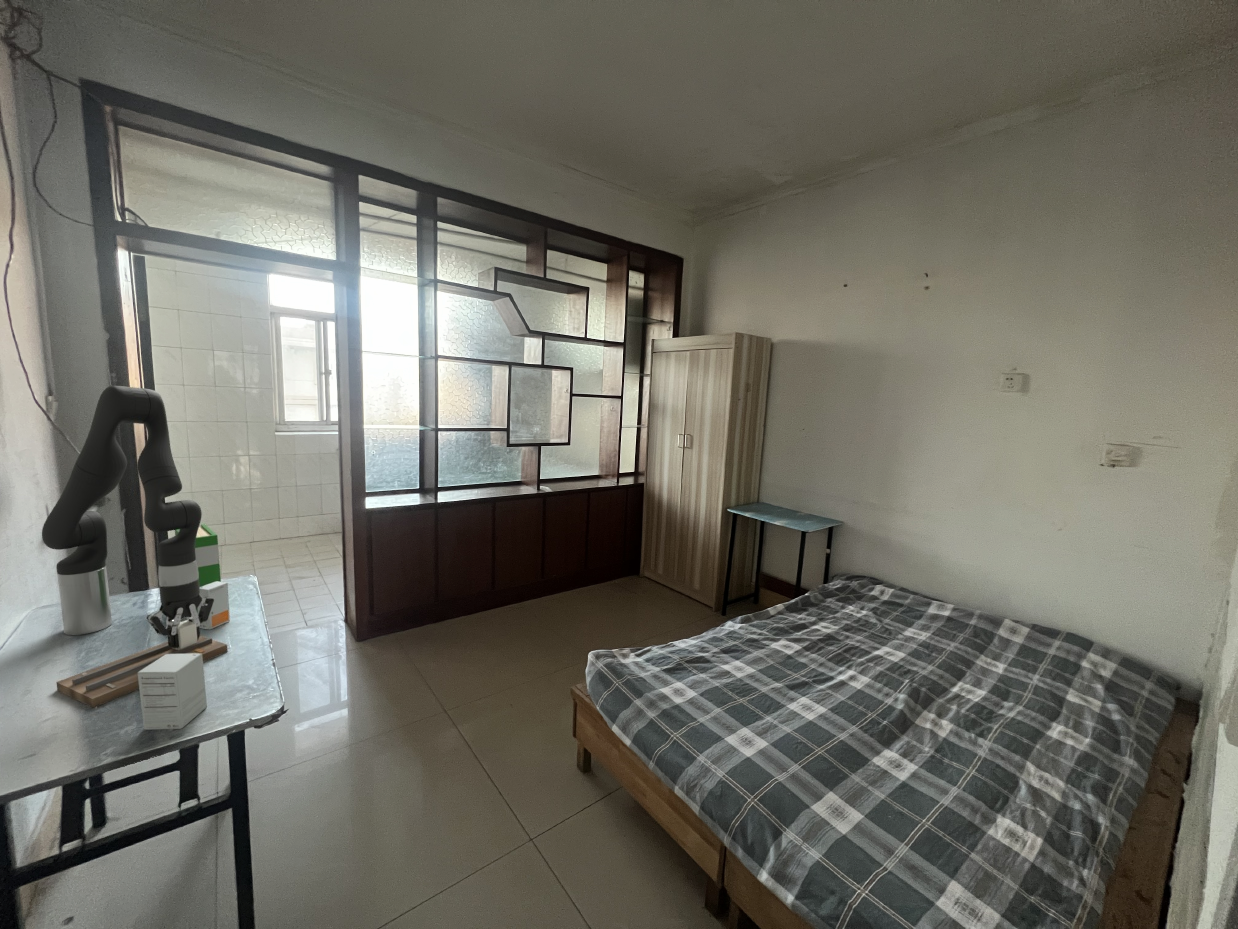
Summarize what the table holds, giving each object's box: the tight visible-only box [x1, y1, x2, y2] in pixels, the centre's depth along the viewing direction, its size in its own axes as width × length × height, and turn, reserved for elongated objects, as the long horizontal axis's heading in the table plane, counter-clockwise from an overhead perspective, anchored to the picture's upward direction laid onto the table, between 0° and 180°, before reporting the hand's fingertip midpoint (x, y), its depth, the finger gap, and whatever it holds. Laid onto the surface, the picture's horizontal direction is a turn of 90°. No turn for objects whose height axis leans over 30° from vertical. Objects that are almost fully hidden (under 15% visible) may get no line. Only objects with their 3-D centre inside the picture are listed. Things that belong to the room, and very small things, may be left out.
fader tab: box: [174, 619, 198, 650], centre depth 126 cm, size 4×4×6 cm
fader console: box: [56, 635, 228, 708], centre depth 120 cm, size 15×26×3 cm, turn 158°
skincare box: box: [198, 581, 231, 630], centre depth 143 cm, size 6×4×12 cm
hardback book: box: [174, 523, 222, 613], centre depth 155 cm, size 18×7×24 cm, turn 49°
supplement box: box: [138, 653, 208, 731], centre depth 102 cm, size 7×7×13 cm
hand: (184, 643), depth 127 cm, fingers closed on fader tab, 3 cm apart
